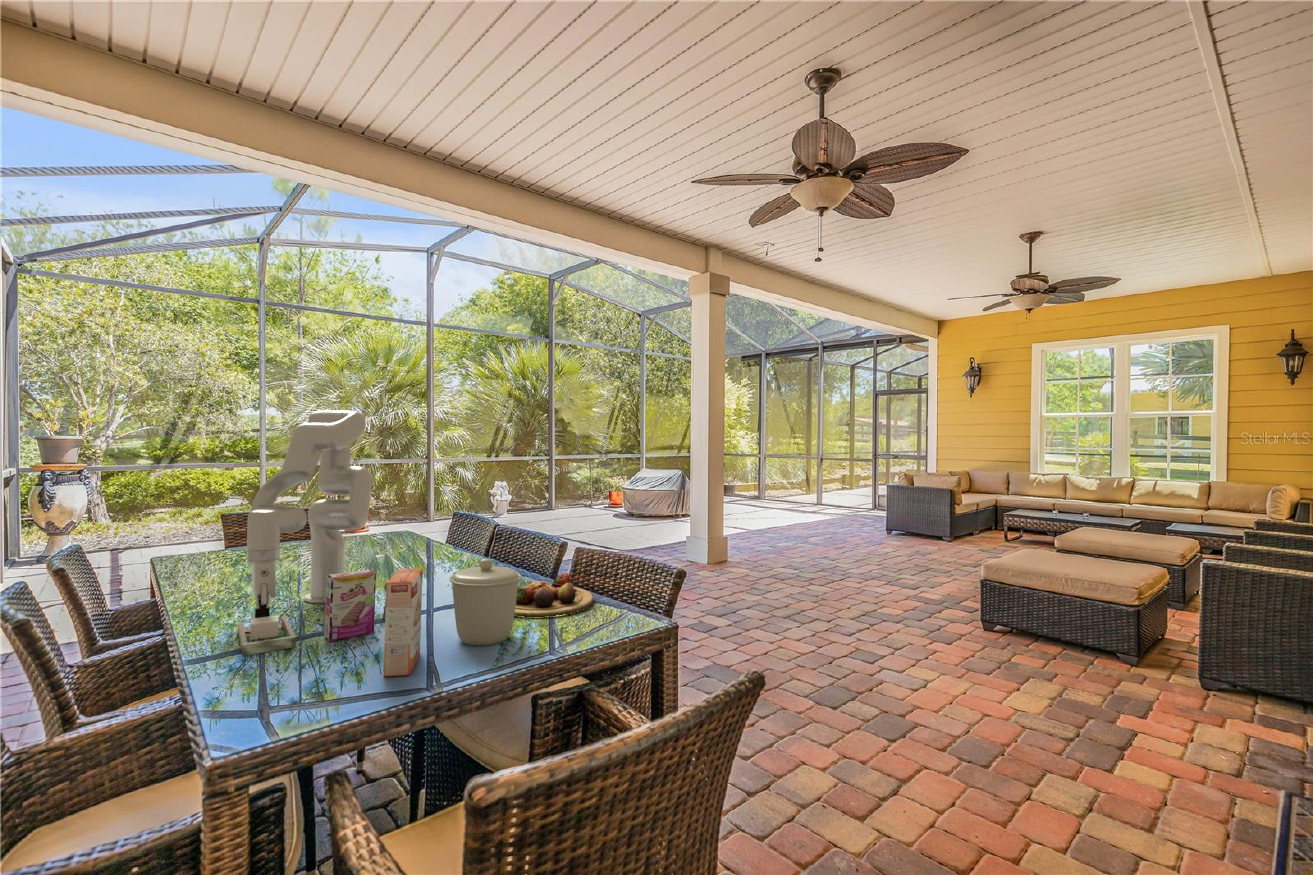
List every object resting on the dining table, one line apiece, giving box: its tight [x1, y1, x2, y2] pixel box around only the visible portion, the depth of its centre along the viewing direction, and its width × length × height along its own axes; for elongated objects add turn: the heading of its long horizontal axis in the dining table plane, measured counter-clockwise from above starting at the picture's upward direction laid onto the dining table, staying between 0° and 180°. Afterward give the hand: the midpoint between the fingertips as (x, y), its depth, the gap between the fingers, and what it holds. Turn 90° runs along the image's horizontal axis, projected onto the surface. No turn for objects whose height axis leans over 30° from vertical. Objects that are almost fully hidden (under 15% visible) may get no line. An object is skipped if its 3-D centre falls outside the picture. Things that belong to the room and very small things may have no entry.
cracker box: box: [383, 568, 424, 677], centre depth 140 cm, size 14×6×21 cm, turn 12°
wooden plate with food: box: [514, 572, 594, 617], centre depth 194 cm, size 32×32×8 cm
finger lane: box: [237, 615, 297, 656], centre depth 157 cm, size 11×23×2 cm, turn 37°
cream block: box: [250, 615, 279, 640], centre depth 160 cm, size 6×6×4 cm
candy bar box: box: [323, 569, 377, 642], centre depth 160 cm, size 11×5×16 cm, turn 134°
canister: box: [449, 558, 522, 646], centre depth 159 cm, size 18×18×21 cm
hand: (262, 622), depth 166 cm, fingers closed
